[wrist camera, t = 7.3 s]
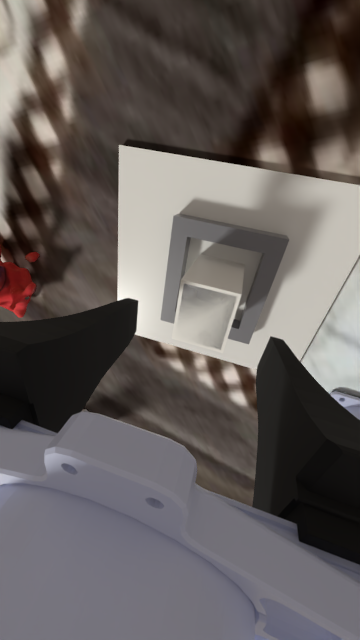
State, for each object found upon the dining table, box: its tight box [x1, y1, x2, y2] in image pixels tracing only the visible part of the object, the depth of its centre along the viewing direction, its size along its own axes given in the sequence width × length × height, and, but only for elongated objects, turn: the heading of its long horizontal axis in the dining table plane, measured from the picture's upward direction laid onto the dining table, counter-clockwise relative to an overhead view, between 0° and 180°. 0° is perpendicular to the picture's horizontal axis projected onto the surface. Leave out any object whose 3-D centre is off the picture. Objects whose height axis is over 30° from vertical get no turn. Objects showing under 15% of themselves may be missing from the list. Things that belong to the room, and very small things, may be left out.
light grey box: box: [172, 254, 245, 353], centre depth 17 cm, size 4×4×6 cm
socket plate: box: [118, 145, 360, 370], centre depth 19 cm, size 18×16×2 cm
